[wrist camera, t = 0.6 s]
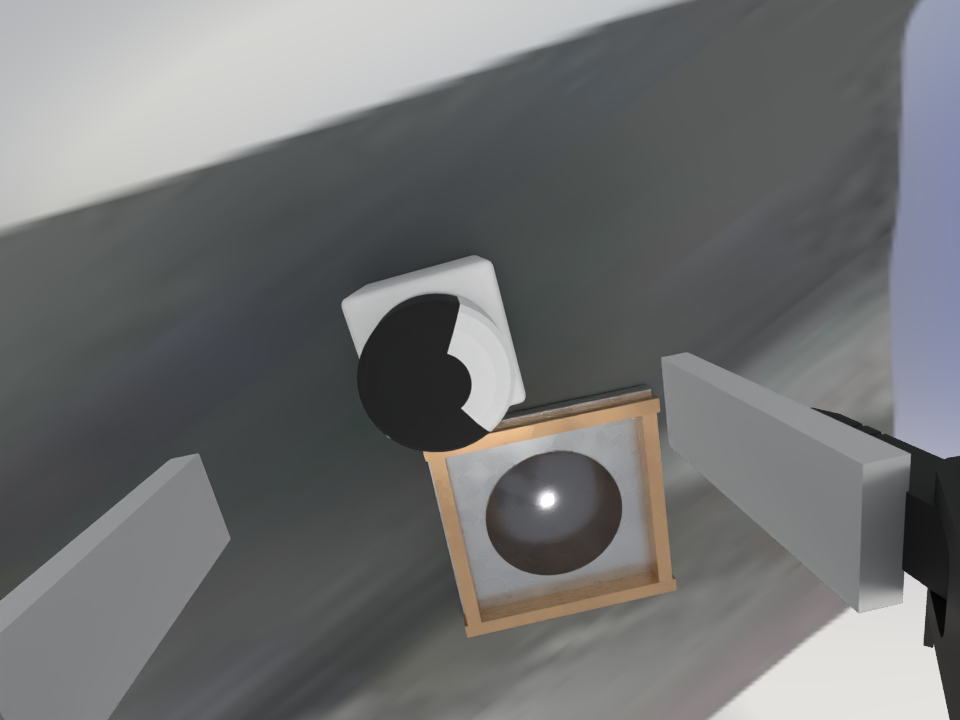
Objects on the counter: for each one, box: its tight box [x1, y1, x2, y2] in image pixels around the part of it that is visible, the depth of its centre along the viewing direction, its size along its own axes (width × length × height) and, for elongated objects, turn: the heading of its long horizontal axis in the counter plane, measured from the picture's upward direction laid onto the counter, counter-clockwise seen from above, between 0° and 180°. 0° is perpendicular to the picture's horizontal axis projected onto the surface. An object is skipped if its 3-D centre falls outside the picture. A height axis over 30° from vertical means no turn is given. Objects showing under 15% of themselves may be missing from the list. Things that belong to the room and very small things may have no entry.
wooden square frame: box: [423, 385, 677, 638], centre depth 34 cm, size 16×16×2 cm
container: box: [341, 255, 525, 452], centre depth 25 cm, size 8×8×13 cm
